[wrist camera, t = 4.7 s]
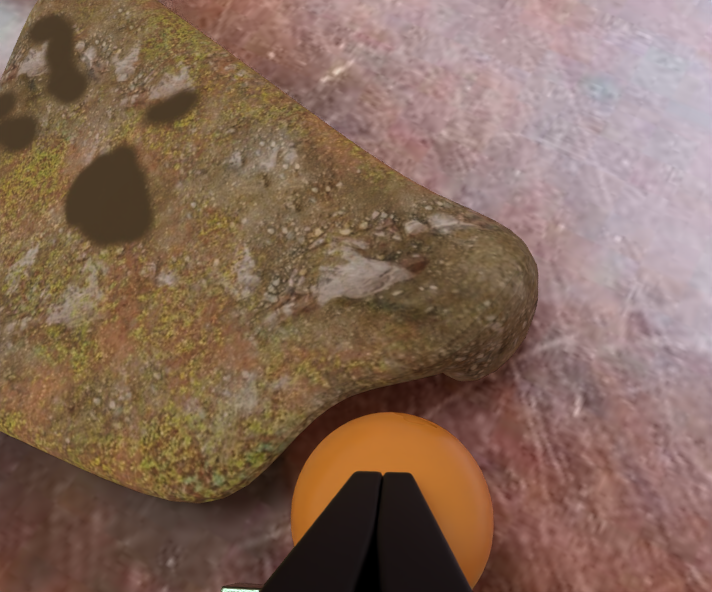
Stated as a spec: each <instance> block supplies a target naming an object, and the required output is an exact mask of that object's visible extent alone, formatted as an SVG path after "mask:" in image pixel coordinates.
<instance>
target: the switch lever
mask: <svg viewBox="0 0 712 592" xmlns="http://www.w3.org/2000/svg"><path fill="white" fill-rule="evenodd" d="M356 471H378V472H381V473H382V475H384V474H385V473H386V472H408V473H411V474H412V475H413V477H414V478H415V480H416V482H417V484H418V486H419V488H420V490H421V492H422V494H423V496H424V498H425V500H426V502H427V504H428V506H429V508H430V509H431V511H432V513H433V515H434V517H435V519H436V521H437V523H438V525H439V527H440V529H441V531H442V533H443V535H444V537H445V539H446V540H447V542H448V544H449V546H450V548H451V550H452V552H453V554H454V556H455V558H456V560H457V562H458V564H459V566H460V568H461V569H462V571H463V573H464V575H465V577H466V579H467V581H468V583H469V585H470V587H471V589H473V588H474V587H475V585H476V583H477V581H478V580H479V578H480V576H481V575H482V573H483V571H484V568H485V566H486V563H487V561H488V558H489V554H490V550H491V546H492V539H493V529H494V517H493V507H492V500H491V496H490V493H489V489H488V486H487V483H486V481H485V478H484V476H483V473H482V471H481V469H480V468H479V466H478V464H477V462H476V461H475V459H474V458H473V457H472V455H471V454H470V453H469V451H468V450H467V449H466V448H465V446H464V445H463V444H462V443H461V442H460V441H459V440H458V439H457V438H456V437H454V436H453V435H452V434H451V433H449V432H448V431H447V430H445V429H444V428H442V427H440V426H439V425H437V424H435V423H433V422H431V421H429V420H427V419H424V418H421V417H418V416H414V415H410V414H405V413H396V412H382V413H375V414H369V415H366V416H362V417H359V418H356V419H354V420H351V421H349V422H347V423H345V424H344V425H342V426H340V427H339V428H337V429H336V430H334V431H333V432H332V433H330V434H329V435H328V436H327V437H326V438H325V439H324V440H322V441H321V442H320V443H319V445H318V446H317V447H316V448H315V449H314V450H313V452H312V453H311V455H310V456H309V458H308V459H307V461H306V462H305V465H304V467H303V469H302V471H301V473H300V475H299V477H298V480H297V483H296V486H295V489H294V494H293V499H292V508H291V531H292V537H293V543H294V547H295V545H296V544H297V543H298V542H299V540H300V539H301V538H302V537H303V535H304V534H305V533H306V532H307V530H308V529H309V528H310V527H311V525H312V524H313V523H314V522H315V520H316V519H317V518H318V517H319V515H320V514H321V513H322V512H323V510H324V509H325V508H326V507H327V505H328V504H329V503H330V502H331V500H332V499H333V498H334V497H335V495H336V494H337V493H338V492H339V490H340V489H341V488H342V487H343V485H344V484H345V483H346V482H347V480H348V479H349V478H350V476H351V475H352V474H353V473H354V472H356Z"/></svg>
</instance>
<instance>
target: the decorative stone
mask: <svg viewBox="0 0 712 592" xmlns="http://www.w3.org/2000/svg"><path fill="white" fill-rule="evenodd" d="M537 301H538V270H537V264H536V262H535V260H534V258H533V257H532V255H531V253H530V251H529V249H528V247H527V246H526V244H525V243H524V241H522V240H521V239H520V238H519V237H518V236H517V235H515V234H514V233H513V232H512V231H511V230H510V229H508V228H506V227H505V226H503V225H501V224H499V223H498V222H496V221H494V220H492V219H490V218H488V217H486V216H484V215H482V214H480V213H478V212H475V211H473V210H471V209H469V208H466V207H464V206H462V205H460V204H457V203H455V202H453V201H451V200H449V199H447V198H444V197H442V196H440V195H438V194H436V193H434V192H432V191H430V190H428V189H426V188H425V187H423V186H421V185H419V184H417V183H415V182H413V181H412V180H410V179H408V178H407V177H405V176H403V175H402V174H400V173H399V172H397V171H395V170H394V169H392V168H390V167H389V166H387V165H386V164H384V163H383V162H381V161H380V160H378V159H377V158H375V157H374V156H372V155H371V154H369V153H368V152H366V151H365V150H363V149H362V148H360V147H359V146H358V145H356V144H355V143H353V142H352V141H350V140H349V139H347V138H346V137H345V136H343V135H342V134H340V133H339V132H338V131H336V130H335V129H333V128H332V127H331V126H329V125H328V124H326V123H325V122H324V121H322V120H321V119H320V118H318V117H317V116H315V115H314V114H313V113H311V112H310V111H309V110H307V109H306V108H304V107H303V106H302V105H300V104H299V103H298V102H296V101H295V100H294V99H292V98H291V97H289V96H288V95H287V94H285V93H284V92H283V91H281V90H280V89H279V88H277V87H276V86H275V85H273V84H272V83H270V82H269V81H268V80H266V79H265V78H264V77H262V76H261V75H260V74H258V73H257V72H255V71H254V70H253V69H251V68H250V67H249V66H247V65H246V64H245V63H243V62H242V61H240V60H239V59H238V58H236V57H235V56H234V55H232V54H231V53H229V52H228V51H227V50H225V49H224V48H223V47H221V46H220V45H218V44H217V43H216V42H214V41H213V40H211V39H210V38H209V37H207V36H206V35H204V34H203V33H202V32H200V31H199V30H197V29H196V28H195V27H193V26H192V25H190V24H189V23H188V22H186V21H185V20H183V19H182V18H181V17H179V16H178V15H176V14H175V13H174V12H172V11H171V10H169V9H168V8H167V7H165V6H164V5H162V4H161V3H160V2H158V1H157V0H38V1H37V3H36V4H35V6H34V8H33V9H32V11H31V13H30V14H29V16H28V19H27V21H26V23H25V25H24V27H23V29H22V31H21V34H20V36H19V38H18V40H17V43H16V45H15V47H14V49H13V52H12V54H11V56H10V59H9V61H8V64H7V66H6V68H5V71H4V73H3V75H2V78H1V80H0V431H1V432H4V433H6V434H8V435H10V436H12V437H14V438H16V439H18V440H20V441H23V442H25V443H27V444H29V445H31V446H33V447H35V448H38V449H40V450H42V451H44V452H46V453H48V454H50V455H53V456H55V457H57V458H59V459H61V460H63V461H66V462H68V463H70V464H72V465H74V466H77V467H79V468H81V469H83V470H86V471H88V472H90V473H92V474H95V475H97V476H99V477H101V478H104V479H106V480H109V481H111V482H114V483H117V484H119V485H122V486H124V487H127V488H130V489H132V490H135V491H137V492H140V493H144V494H147V495H151V496H155V497H158V498H162V499H166V500H169V501H178V502H189V503H203V502H208V501H213V500H217V499H222V498H225V497H227V496H229V495H231V494H233V493H234V492H236V491H238V490H240V489H242V488H243V487H245V486H247V485H249V484H250V483H251V482H252V481H253V480H255V479H256V478H257V477H258V476H259V475H260V474H262V473H263V472H264V471H265V470H266V469H267V468H268V467H269V466H270V465H271V464H272V463H273V462H274V461H275V460H276V459H277V458H278V457H279V456H280V454H281V453H282V452H283V451H284V450H285V449H286V448H287V447H288V446H289V445H290V444H291V443H292V442H293V441H294V440H295V439H296V437H297V436H298V435H299V434H300V433H301V432H302V431H303V430H305V429H306V428H307V427H308V426H309V425H310V424H311V423H312V422H313V421H314V420H315V419H316V418H318V417H319V416H320V415H321V414H323V413H324V412H325V411H327V410H328V409H329V408H330V407H332V406H334V405H336V404H337V403H339V402H341V401H343V400H345V399H346V398H348V397H350V396H353V395H356V394H359V393H362V392H365V391H368V390H371V389H376V388H380V387H384V386H389V385H393V384H398V383H403V382H407V381H412V380H416V379H421V378H425V377H429V376H433V375H437V374H441V373H444V374H445V375H447V376H449V377H451V378H453V379H456V380H458V381H472V380H479V379H481V378H483V377H485V376H487V375H489V374H490V373H492V372H494V371H496V370H497V369H498V368H499V367H500V366H502V365H503V364H504V363H505V362H506V361H507V360H508V359H509V358H511V357H512V355H513V354H514V353H515V351H516V350H517V348H518V347H519V346H520V344H521V343H522V342H523V340H524V339H525V338H526V335H527V332H528V330H529V327H530V324H531V321H532V319H533V316H534V313H535V310H536V306H537Z"/></svg>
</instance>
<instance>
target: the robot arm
mask: <svg viewBox="0 0 712 592" xmlns="http://www.w3.org/2000/svg"><path fill="white" fill-rule="evenodd" d="M259 592H473V591H472V589H471V587H470V585H469V583H468V581H467V579H466V577H465V575H464V573H463V571H462V569H461V568H460V566H459V564H458V562H457V560H456V558H455V556H454V554H453V552H452V550H451V548H450V546H449V544H448V542H447V540H446V539H445V537H444V535H443V533H442V531H441V529H440V527H439V525H438V523H437V521H436V519H435V517H434V515H433V513H432V511H431V509H430V508H429V506H428V504H427V502H426V500H425V498H424V496H423V494H422V492H421V490H420V488H419V486H418V484H417V482H416V480H415V478H414V477H413V475H412V474H411V473H408V472H386V473H385V474H384V475H382V473H381V472H378V471H356V472H354V473H353V474H352V475H351V476H350V478H349V479H348V480H347V482H346V483H345V484H344V485H343V487H342V488H341V489H340V490H339V492H338V493H337V494H336V495H335V497H334V498H333V499H332V500H331V502H330V503H329V504H328V505H327V507H326V508H325V509H324V510H323V512H322V513H321V514H320V515H319V517H318V518H317V519H316V520H315V522H314V523H313V524H312V525H311V527H310V528H309V529H308V530H307V532H306V533H305V534H304V535H303V537H302V538H301V539H300V540H299V542H298V543H297V544H296V545H295V547H294V548H293V549H292V550H291V552H290V553H289V554H288V555H287V557H286V558H285V559H284V561H283V562H282V563H281V564H280V566H279V567H278V568H277V569H276V571H275V572H274V573H273V574H272V576H271V577H270V578H269V579H268V581H267V582H266V583H265V584H264V586H263V587H262V588H261V589H260V591H259Z"/></svg>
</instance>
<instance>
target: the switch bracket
mask: <svg viewBox="0 0 712 592" xmlns="http://www.w3.org/2000/svg"><path fill="white" fill-rule="evenodd" d="M263 586H264V585H262V584H244V583H235V584H231V585H226V586H223V587H222V588H221V592H259V591H260V589H261V588H262V587H263Z"/></svg>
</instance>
